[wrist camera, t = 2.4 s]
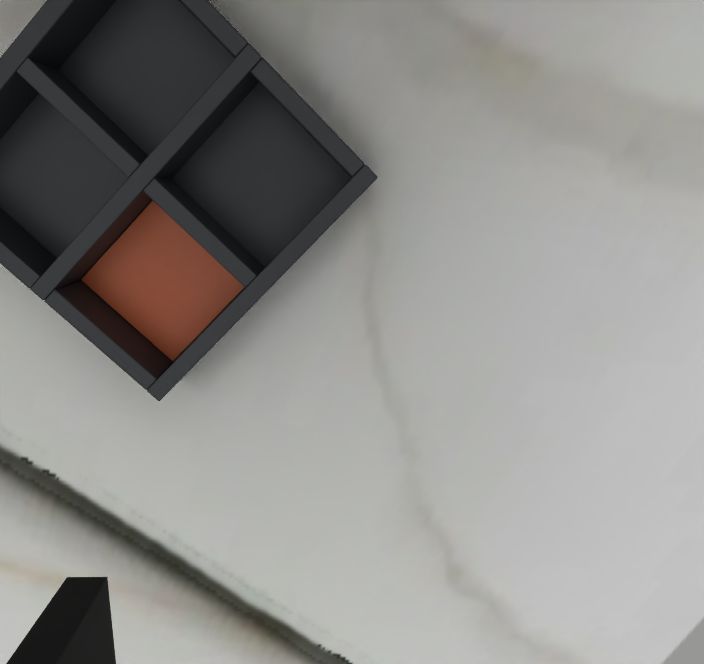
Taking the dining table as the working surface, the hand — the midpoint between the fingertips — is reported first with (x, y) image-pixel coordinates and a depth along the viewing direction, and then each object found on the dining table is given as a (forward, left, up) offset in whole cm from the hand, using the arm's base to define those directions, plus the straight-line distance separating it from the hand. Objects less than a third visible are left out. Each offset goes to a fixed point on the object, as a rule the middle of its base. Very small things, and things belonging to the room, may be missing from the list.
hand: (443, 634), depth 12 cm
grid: (-14, -1, -21) cm, 25 cm away
